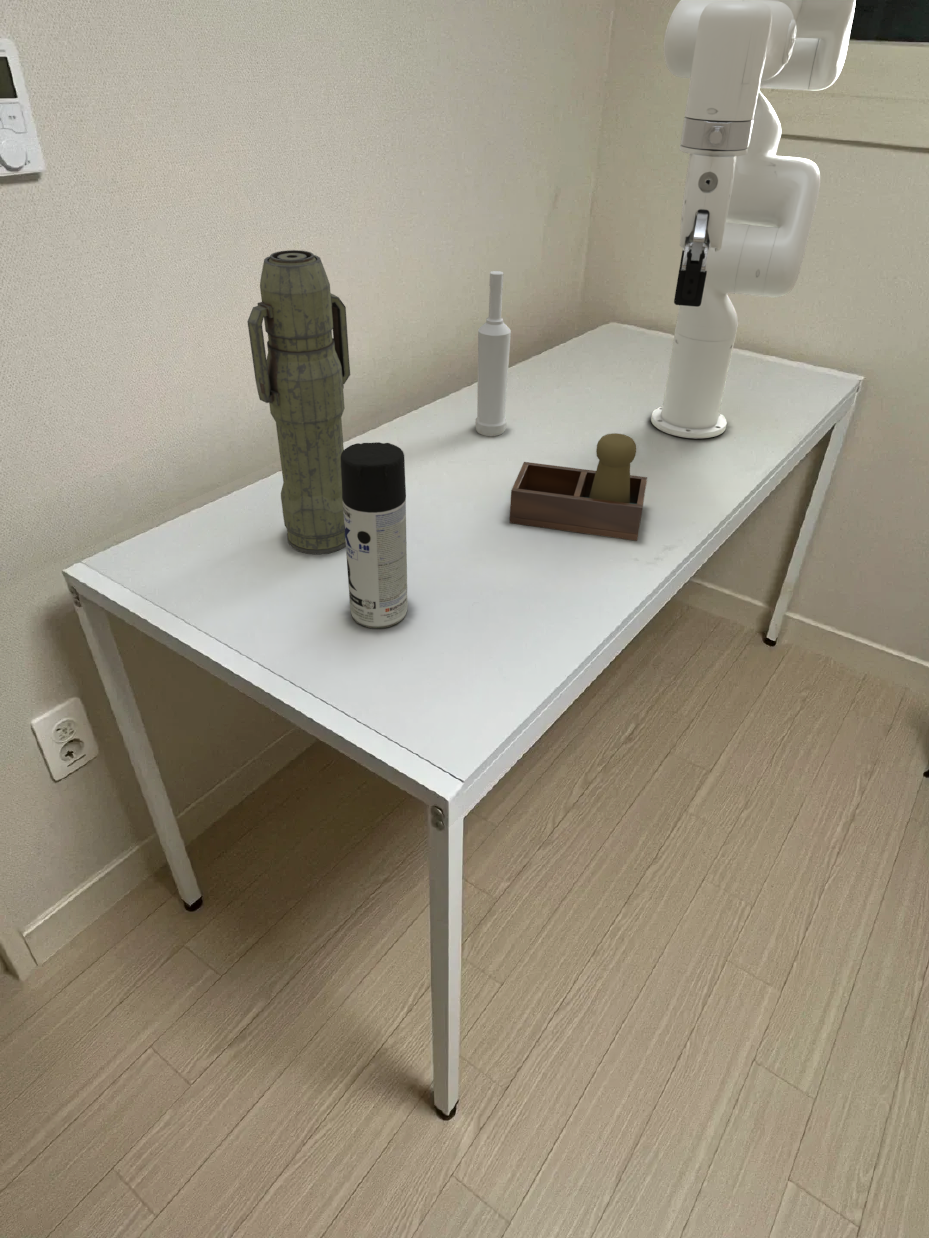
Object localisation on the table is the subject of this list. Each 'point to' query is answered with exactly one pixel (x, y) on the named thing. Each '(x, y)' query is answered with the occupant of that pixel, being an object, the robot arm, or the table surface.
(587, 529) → the caddy
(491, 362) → the bottle
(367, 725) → the table surface
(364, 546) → the spray can
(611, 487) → the cork
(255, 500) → the table surface
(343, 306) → the thermos
